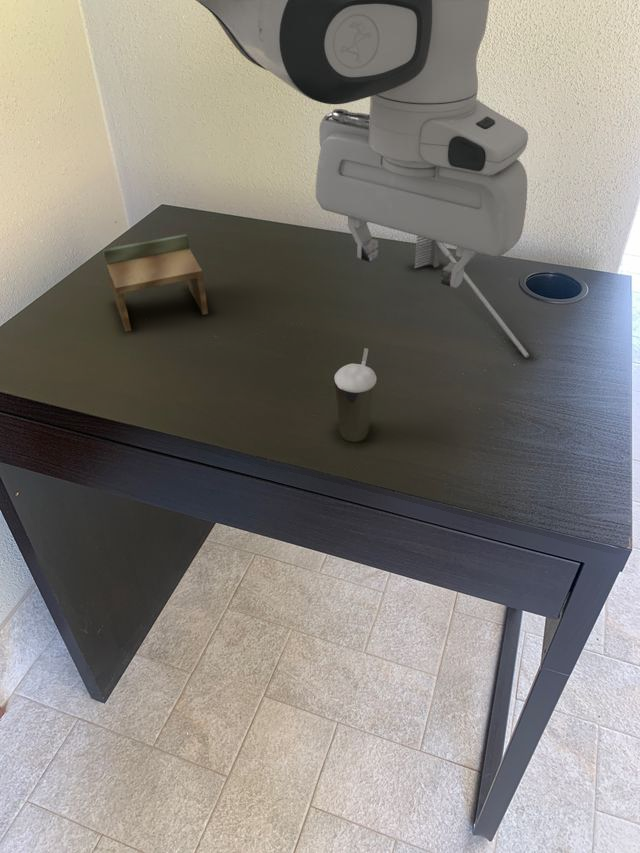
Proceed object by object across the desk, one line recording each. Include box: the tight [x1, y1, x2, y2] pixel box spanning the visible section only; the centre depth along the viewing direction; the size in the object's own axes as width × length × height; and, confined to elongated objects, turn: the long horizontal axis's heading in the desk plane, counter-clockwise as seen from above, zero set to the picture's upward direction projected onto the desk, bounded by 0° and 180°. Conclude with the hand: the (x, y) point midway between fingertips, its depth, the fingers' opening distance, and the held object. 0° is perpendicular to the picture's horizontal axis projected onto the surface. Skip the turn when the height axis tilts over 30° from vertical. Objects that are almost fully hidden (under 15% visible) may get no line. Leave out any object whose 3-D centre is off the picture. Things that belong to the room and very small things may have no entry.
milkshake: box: [333, 347, 377, 443], centre depth 77 cm, size 5×5×10 cm
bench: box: [102, 233, 209, 333], centre depth 98 cm, size 12×8×9 cm, turn 112°
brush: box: [414, 235, 530, 359], centre depth 98 cm, size 4×28×9 cm, turn 19°
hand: (408, 270), depth 68 cm, fingers open, 8 cm apart
